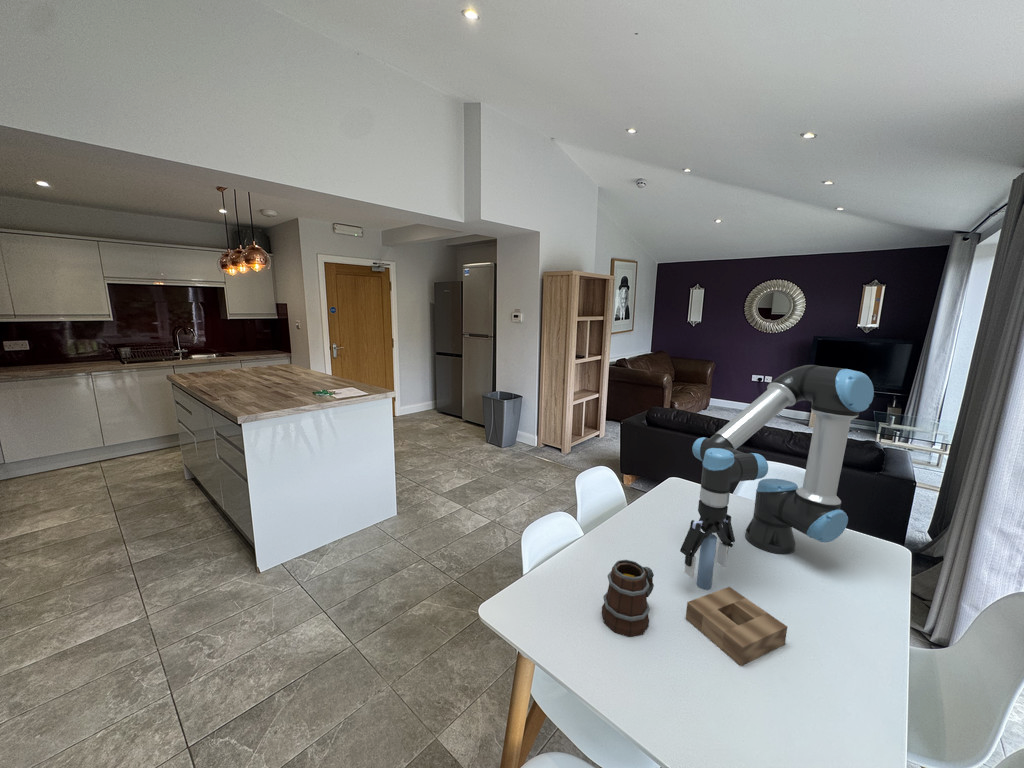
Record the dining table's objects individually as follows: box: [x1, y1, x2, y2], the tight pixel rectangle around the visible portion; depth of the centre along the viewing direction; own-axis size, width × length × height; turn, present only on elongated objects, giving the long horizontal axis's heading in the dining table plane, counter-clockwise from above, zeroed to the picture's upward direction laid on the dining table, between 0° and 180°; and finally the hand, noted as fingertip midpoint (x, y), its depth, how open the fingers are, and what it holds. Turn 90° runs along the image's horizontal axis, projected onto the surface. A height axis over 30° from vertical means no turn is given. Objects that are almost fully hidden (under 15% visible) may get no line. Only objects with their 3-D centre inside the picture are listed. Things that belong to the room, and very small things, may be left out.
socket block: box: [685, 586, 788, 667], centre depth 104 cm, size 16×16×5 cm
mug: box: [601, 559, 655, 638], centre depth 107 cm, size 16×12×15 cm
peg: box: [695, 533, 718, 591], centre depth 121 cm, size 4×4×16 cm
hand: (705, 569), depth 121 cm, fingers open, 12 cm apart
